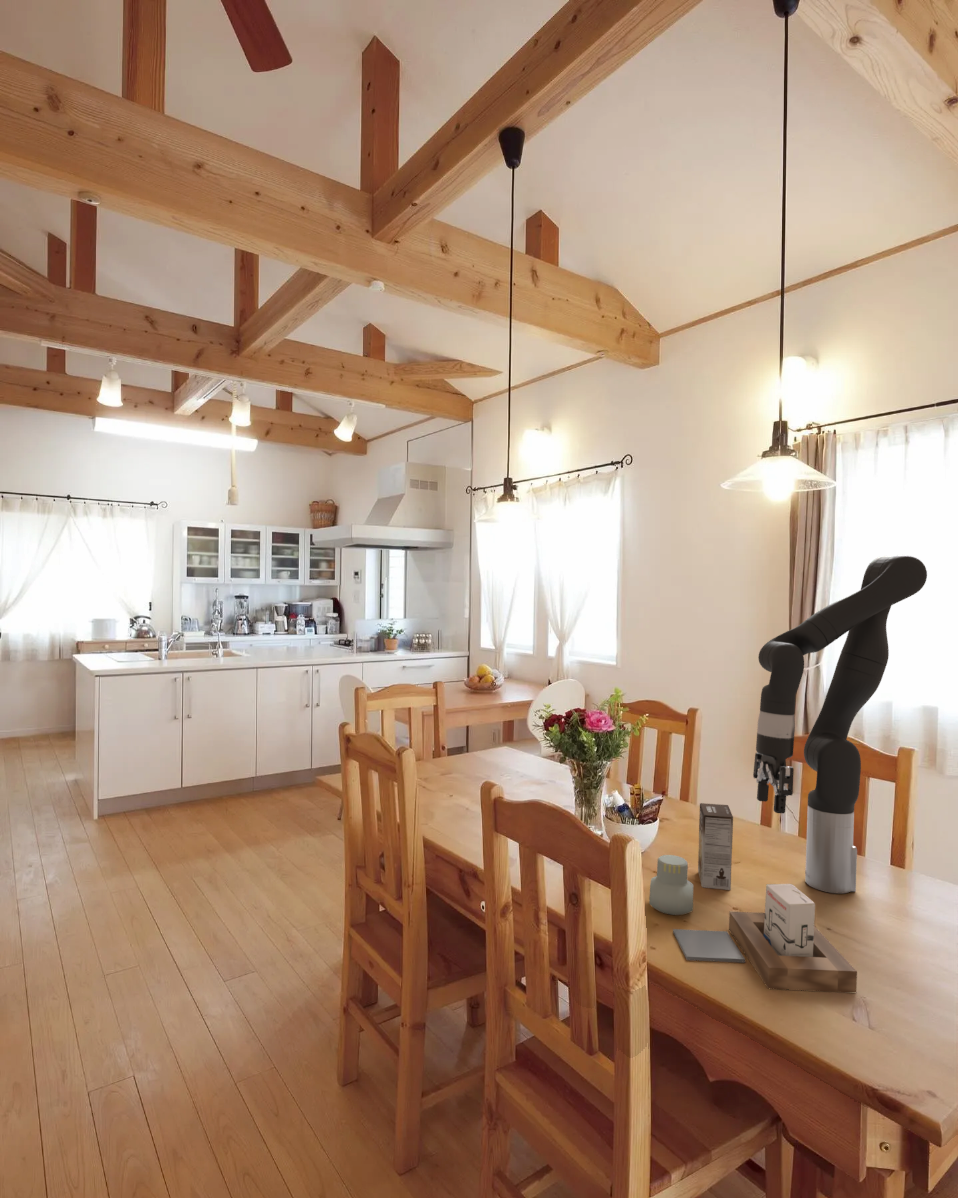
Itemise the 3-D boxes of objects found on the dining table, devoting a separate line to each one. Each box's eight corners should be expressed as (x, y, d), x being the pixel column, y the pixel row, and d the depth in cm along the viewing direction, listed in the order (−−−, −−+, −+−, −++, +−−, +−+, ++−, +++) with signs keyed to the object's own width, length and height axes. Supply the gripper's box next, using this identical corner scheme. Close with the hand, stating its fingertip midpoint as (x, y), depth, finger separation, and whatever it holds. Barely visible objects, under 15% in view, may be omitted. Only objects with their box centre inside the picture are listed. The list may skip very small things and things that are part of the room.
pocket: (803, 932, 133) (804, 914, 133) (856, 993, 113) (857, 971, 113) (728, 929, 134) (729, 911, 134) (768, 989, 114) (768, 967, 114)
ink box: (761, 947, 128) (763, 882, 127) (788, 946, 128) (790, 882, 128) (786, 972, 119) (788, 903, 119) (814, 972, 119) (816, 903, 119)
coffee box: (696, 871, 162) (698, 802, 161) (726, 874, 160) (728, 804, 160) (701, 888, 153) (703, 814, 152) (732, 891, 151) (734, 816, 151)
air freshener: (692, 924, 136) (693, 873, 135) (648, 917, 138) (649, 867, 138) (692, 901, 146) (693, 853, 146) (651, 895, 148) (653, 848, 148)
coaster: (726, 934, 132) (726, 931, 132) (745, 962, 122) (745, 959, 122) (673, 932, 132) (673, 929, 132) (686, 960, 122) (686, 956, 122)
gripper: (808, 741, 147) (803, 818, 147) (778, 727, 161) (773, 798, 161) (772, 739, 147) (767, 816, 147) (745, 725, 161) (740, 796, 161)
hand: (770, 806), depth 154 cm, fingers open, 8 cm apart
